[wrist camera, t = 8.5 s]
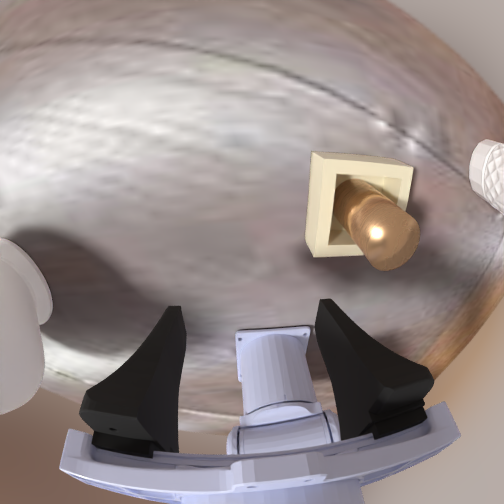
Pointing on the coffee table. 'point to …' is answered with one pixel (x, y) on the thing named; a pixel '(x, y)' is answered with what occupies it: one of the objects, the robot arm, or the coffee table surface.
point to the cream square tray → (323, 188)
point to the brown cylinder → (376, 224)
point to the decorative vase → (21, 325)
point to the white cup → (488, 173)
